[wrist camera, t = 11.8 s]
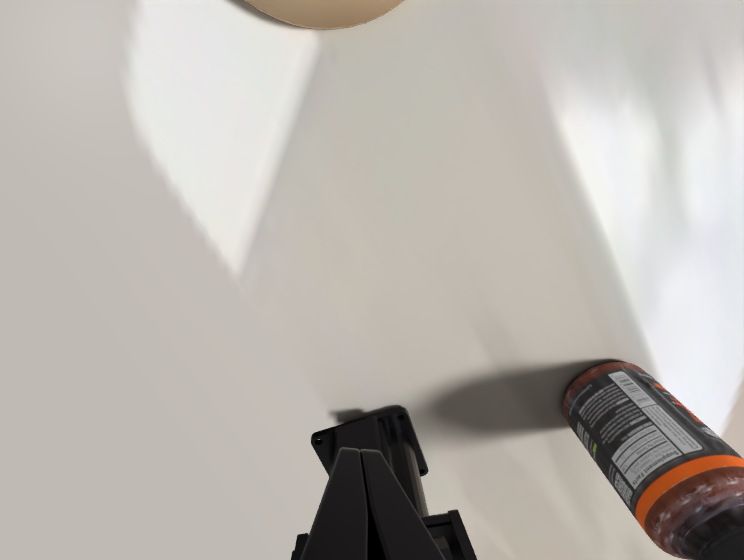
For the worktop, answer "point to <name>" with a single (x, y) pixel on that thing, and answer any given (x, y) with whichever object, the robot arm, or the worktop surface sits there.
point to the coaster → (325, 11)
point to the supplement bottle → (661, 461)
